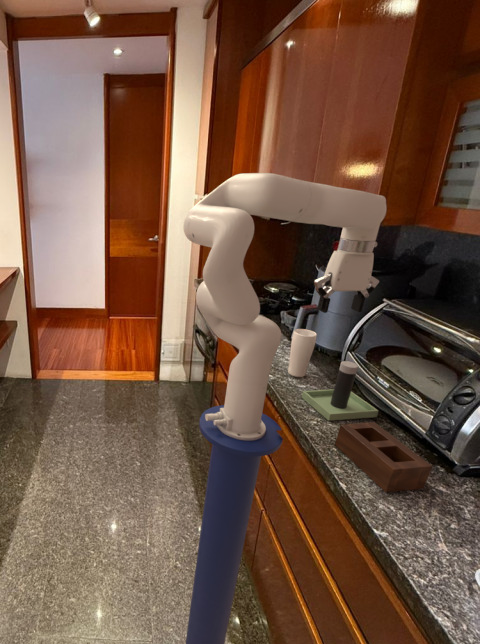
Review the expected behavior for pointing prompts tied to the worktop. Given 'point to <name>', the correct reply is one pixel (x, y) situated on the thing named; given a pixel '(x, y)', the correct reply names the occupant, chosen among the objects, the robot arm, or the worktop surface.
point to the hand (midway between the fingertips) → (339, 310)
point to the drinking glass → (301, 351)
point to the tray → (352, 411)
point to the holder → (383, 457)
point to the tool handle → (344, 384)
